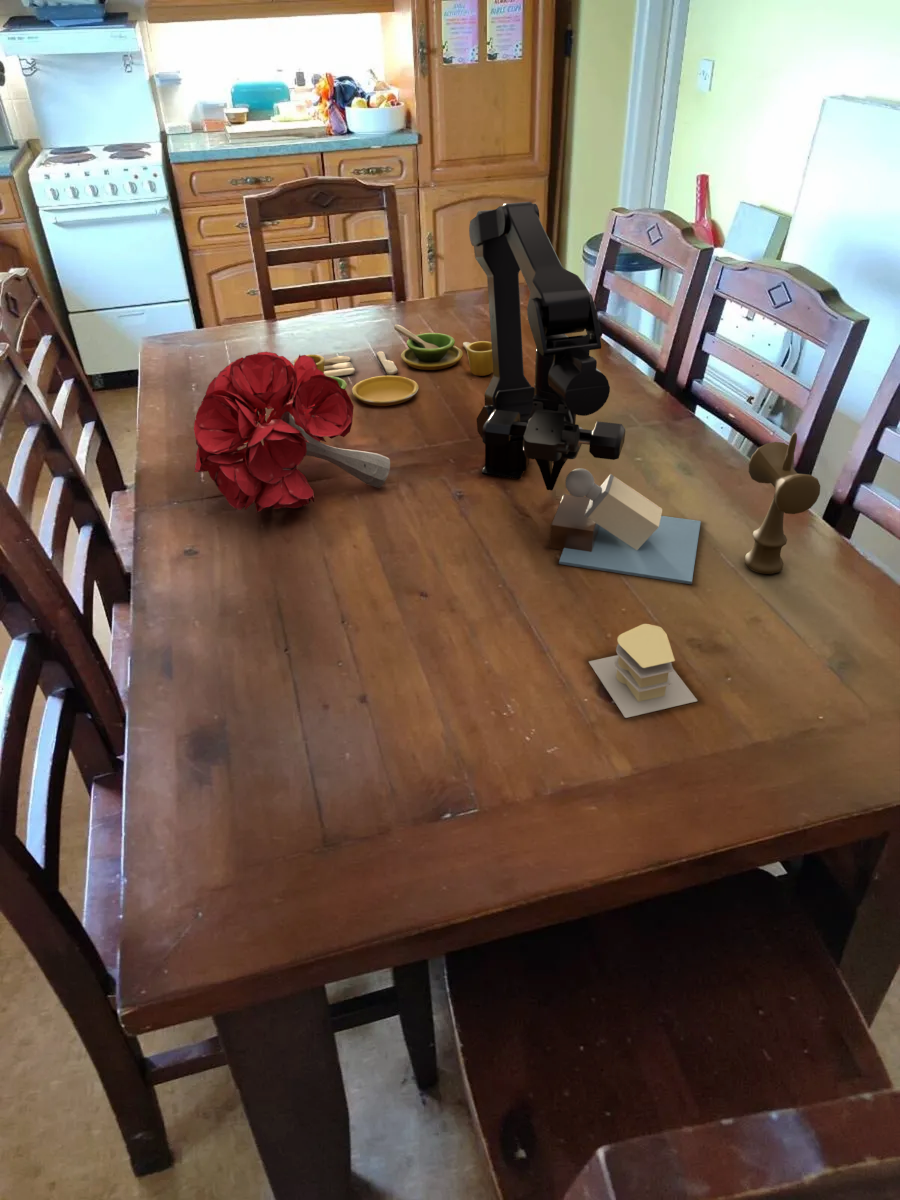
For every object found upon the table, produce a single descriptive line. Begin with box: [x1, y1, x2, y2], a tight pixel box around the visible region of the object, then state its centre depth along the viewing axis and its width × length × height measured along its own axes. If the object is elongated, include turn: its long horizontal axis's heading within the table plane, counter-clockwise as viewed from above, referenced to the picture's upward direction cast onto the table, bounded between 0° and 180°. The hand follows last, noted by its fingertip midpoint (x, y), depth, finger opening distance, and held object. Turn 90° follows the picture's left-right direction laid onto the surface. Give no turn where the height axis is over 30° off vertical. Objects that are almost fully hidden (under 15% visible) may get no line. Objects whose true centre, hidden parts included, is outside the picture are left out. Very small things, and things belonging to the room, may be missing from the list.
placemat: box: [558, 515, 702, 585], centre depth 123 cm, size 18×16×1 cm
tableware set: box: [292, 324, 493, 407], centre depth 171 cm, size 41×28×6 cm
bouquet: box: [193, 351, 391, 513], centre depth 129 cm, size 22×24×30 cm
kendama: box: [744, 432, 821, 575], centre depth 112 cm, size 6×10×20 cm, turn 6°
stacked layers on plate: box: [588, 623, 699, 719], centre depth 98 cm, size 10×9×6 cm
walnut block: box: [549, 493, 600, 552], centre depth 124 cm, size 6×9×4 cm, turn 163°
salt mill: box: [565, 467, 663, 550], centre depth 120 cm, size 14×5×10 cm, turn 73°
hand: (550, 489), depth 122 cm, fingers closed
